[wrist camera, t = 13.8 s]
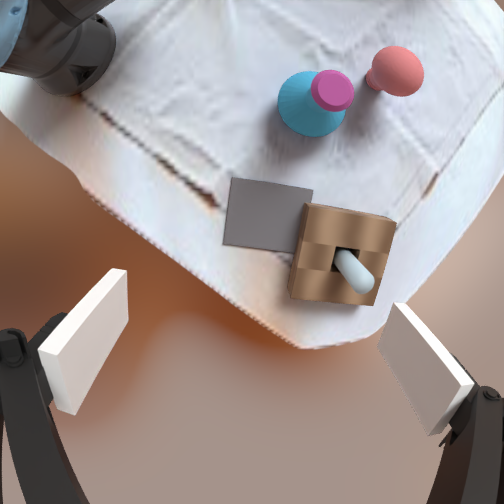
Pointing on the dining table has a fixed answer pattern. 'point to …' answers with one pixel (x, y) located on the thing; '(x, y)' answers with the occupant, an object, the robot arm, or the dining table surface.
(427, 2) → the dining table surface
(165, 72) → the dining table surface
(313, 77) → the perfume bottle
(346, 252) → the peg
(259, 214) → the mat
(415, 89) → the light bulb
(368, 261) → the hole block
